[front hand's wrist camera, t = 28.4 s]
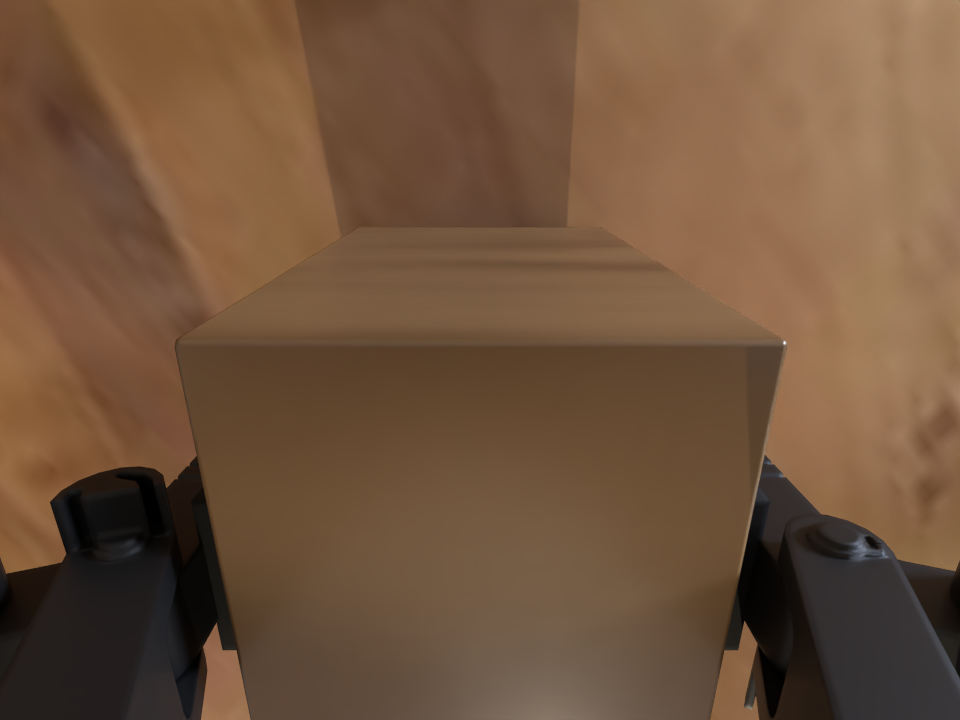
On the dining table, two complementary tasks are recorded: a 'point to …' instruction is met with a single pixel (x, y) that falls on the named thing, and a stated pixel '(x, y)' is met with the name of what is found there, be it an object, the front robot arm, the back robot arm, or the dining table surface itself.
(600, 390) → the block
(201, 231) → the dining table surface
